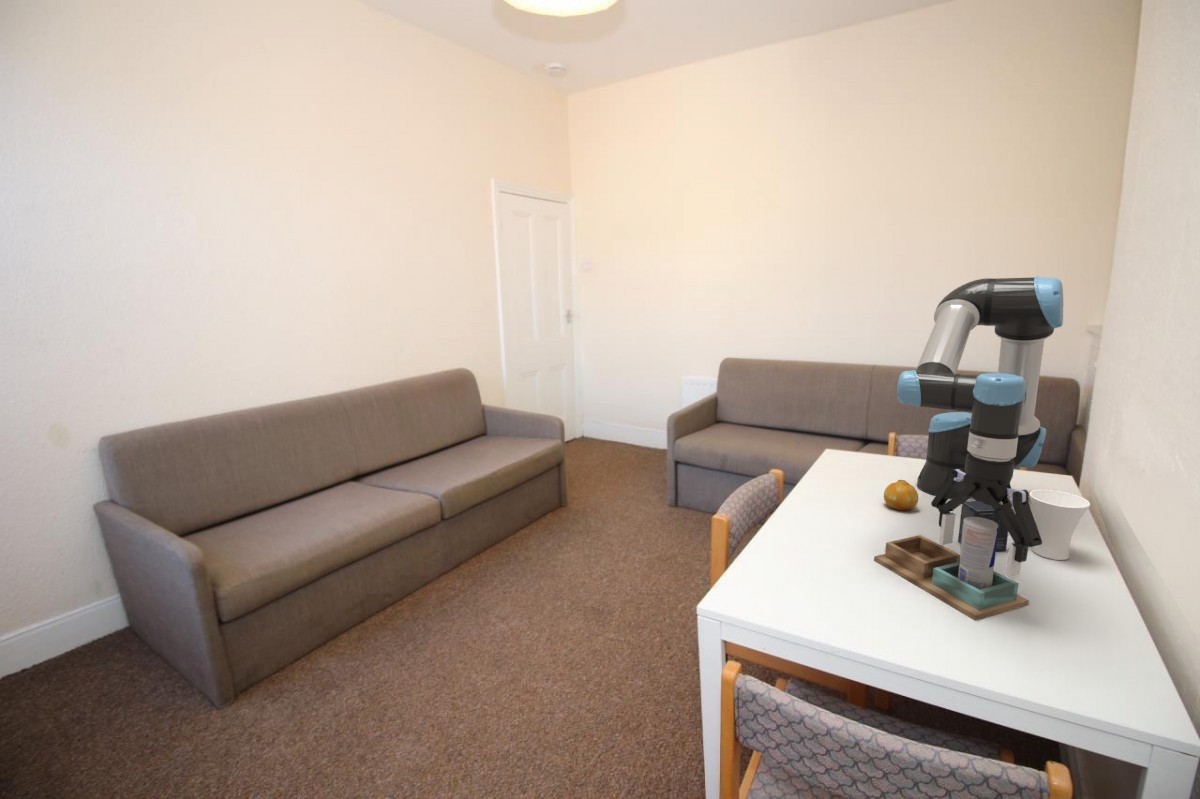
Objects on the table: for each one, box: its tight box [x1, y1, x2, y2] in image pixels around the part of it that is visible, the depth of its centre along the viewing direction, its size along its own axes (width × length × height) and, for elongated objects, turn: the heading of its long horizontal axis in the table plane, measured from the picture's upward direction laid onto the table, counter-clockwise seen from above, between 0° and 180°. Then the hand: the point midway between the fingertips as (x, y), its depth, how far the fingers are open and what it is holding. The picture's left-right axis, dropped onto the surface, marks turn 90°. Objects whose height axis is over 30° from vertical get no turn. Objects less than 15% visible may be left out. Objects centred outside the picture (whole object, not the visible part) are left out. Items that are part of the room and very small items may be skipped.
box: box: [957, 500, 1009, 552], centre depth 127 cm, size 8×6×11 cm
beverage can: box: [958, 517, 998, 590], centre depth 107 cm, size 6×6×15 cm
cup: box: [1029, 489, 1091, 561], centre depth 123 cm, size 10×10×14 cm
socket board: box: [873, 534, 1030, 621], centre depth 114 cm, size 24×14×4 cm, turn 19°
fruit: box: [883, 479, 919, 512], centre depth 150 cm, size 8×8×8 cm
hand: (977, 558), depth 107 cm, fingers open, 13 cm apart
